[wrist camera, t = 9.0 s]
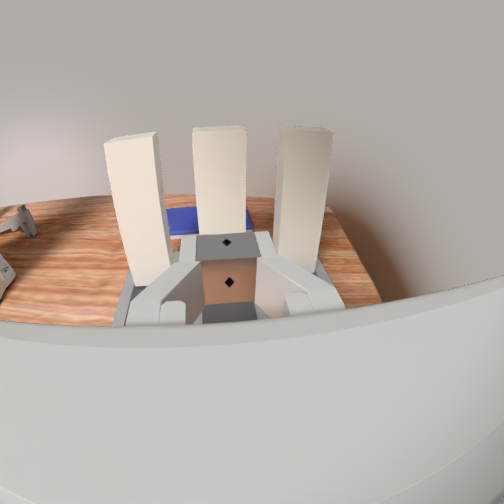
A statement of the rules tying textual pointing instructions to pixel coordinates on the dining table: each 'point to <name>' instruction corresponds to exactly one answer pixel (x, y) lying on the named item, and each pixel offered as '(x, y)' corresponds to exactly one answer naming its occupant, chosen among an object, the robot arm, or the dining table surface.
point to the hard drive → (189, 222)
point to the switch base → (211, 311)
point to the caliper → (20, 222)
